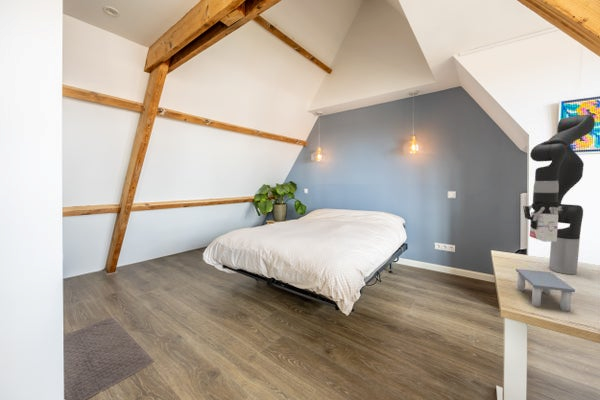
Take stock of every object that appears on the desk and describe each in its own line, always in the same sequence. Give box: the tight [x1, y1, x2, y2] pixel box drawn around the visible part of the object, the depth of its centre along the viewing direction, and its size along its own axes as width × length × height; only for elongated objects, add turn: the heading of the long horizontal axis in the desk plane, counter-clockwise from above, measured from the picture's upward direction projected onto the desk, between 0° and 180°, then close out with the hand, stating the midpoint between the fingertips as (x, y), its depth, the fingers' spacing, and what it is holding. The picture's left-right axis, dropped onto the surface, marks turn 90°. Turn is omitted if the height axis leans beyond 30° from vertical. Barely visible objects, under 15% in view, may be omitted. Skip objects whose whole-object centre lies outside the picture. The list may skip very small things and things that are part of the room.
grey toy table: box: [515, 268, 576, 312], centre depth 93 cm, size 16×11×8 cm
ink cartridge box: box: [529, 207, 559, 243], centre depth 104 cm, size 9×5×15 cm, turn 168°
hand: (543, 229), depth 104 cm, fingers closed on ink cartridge box, 5 cm apart
